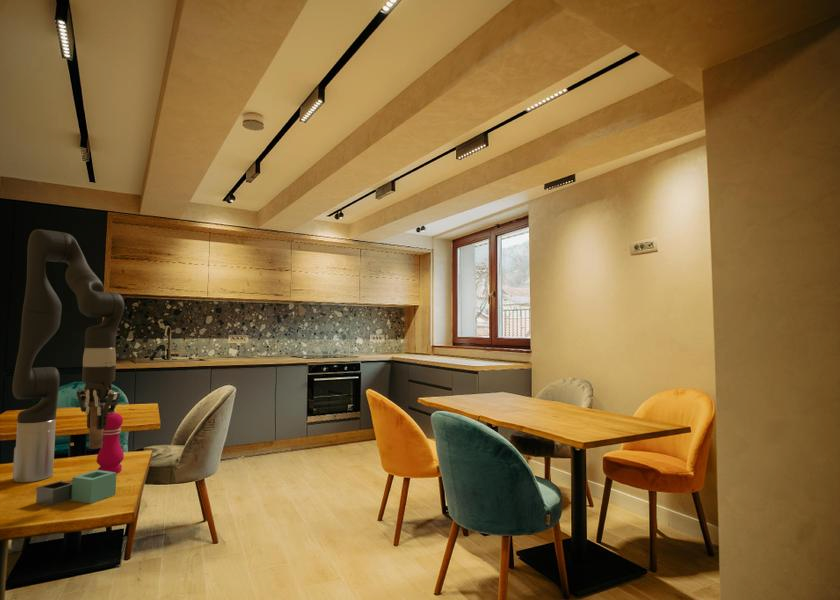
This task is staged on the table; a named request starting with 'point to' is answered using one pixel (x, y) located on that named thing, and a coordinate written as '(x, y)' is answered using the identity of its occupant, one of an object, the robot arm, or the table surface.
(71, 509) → the table surface
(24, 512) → the table surface
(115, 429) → the pepper mill
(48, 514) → the table surface
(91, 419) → the pin
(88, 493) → the socket
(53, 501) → the mount
